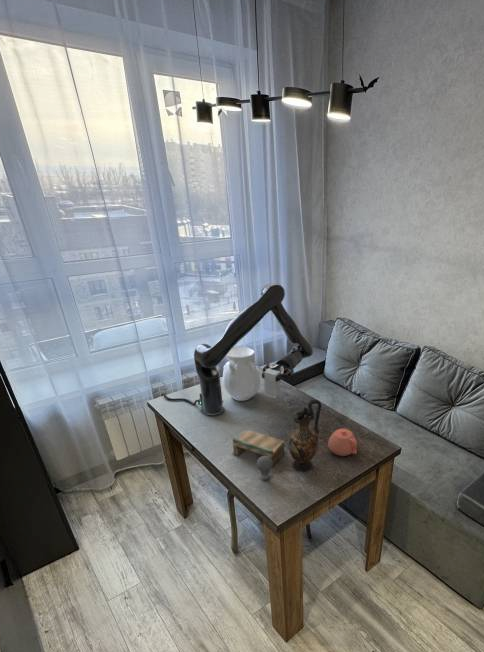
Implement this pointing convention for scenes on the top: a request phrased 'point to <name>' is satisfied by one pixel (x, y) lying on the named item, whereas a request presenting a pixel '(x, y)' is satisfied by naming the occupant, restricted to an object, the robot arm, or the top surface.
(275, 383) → the cosmetic box
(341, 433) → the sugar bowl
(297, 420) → the vase
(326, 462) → the top surface
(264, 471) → the light bulb
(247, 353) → the pitcher
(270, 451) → the wooden step stool
